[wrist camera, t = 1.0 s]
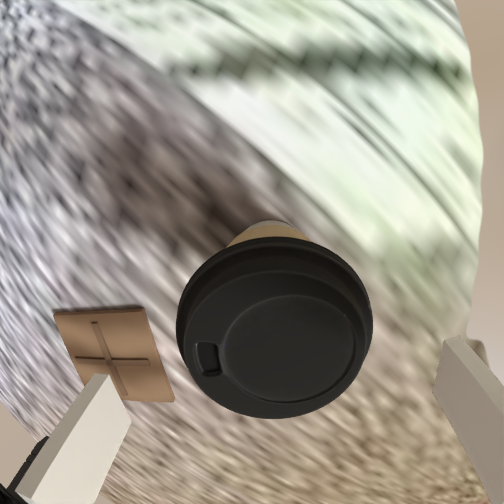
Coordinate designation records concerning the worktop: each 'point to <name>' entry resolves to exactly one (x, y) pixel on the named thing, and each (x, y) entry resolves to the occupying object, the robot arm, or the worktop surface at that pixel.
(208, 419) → the worktop surface
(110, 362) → the plate
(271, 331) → the coffee cup
